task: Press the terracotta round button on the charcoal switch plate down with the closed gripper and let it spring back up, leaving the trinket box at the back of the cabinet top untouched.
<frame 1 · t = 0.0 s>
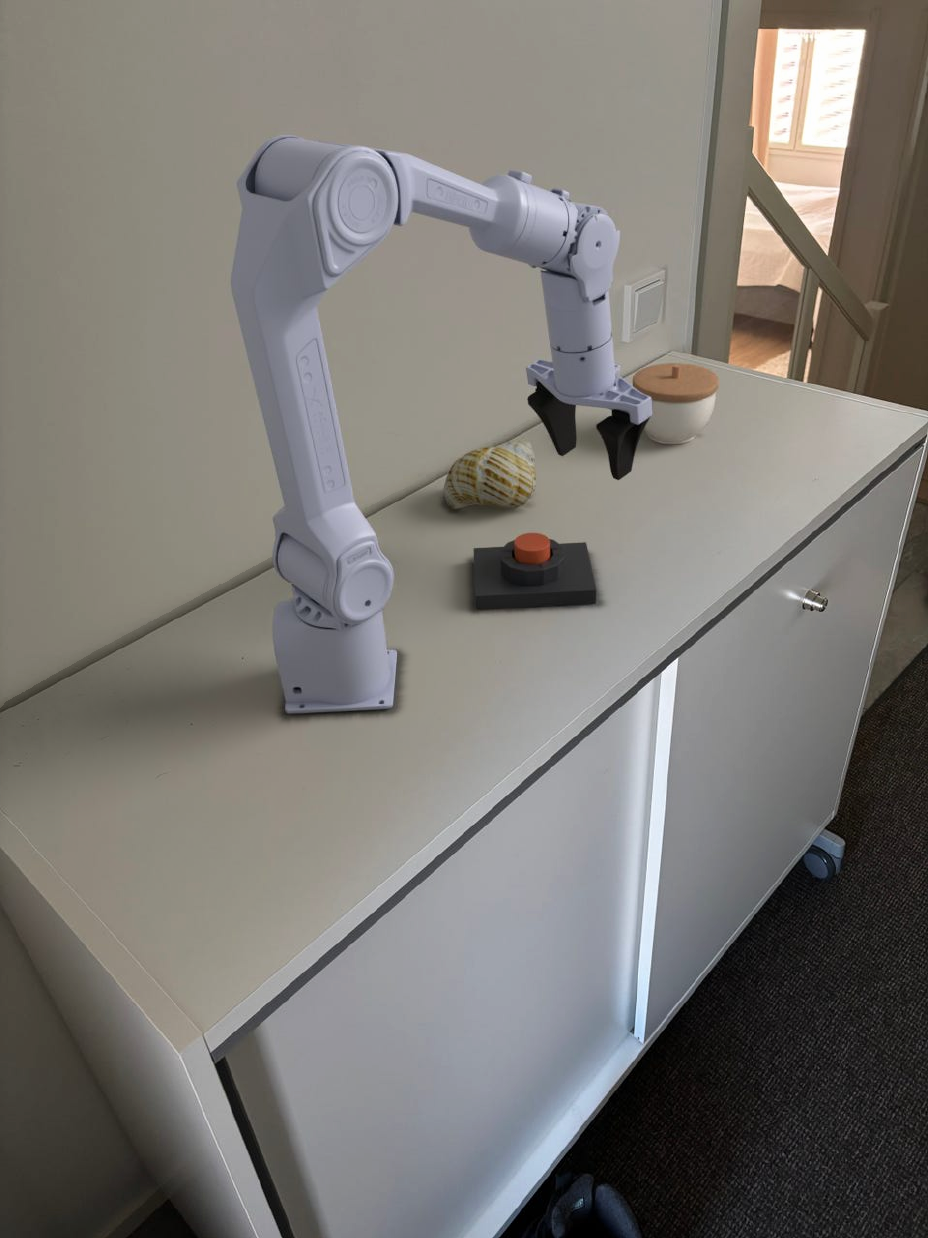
hand: (594, 462, 93), 11 cm above the cabinet top, tool pointing down, fingers open, 7 cm apart
seashell: (493, 502, 110), on the cabinet top
switch button: (532, 548, 93), point 4 cm above the cabinet top, slide at 0.1 cm
trinket box: (670, 435, 122), on the cabinet top
switch plate: (532, 581, 95), on the cabinet top
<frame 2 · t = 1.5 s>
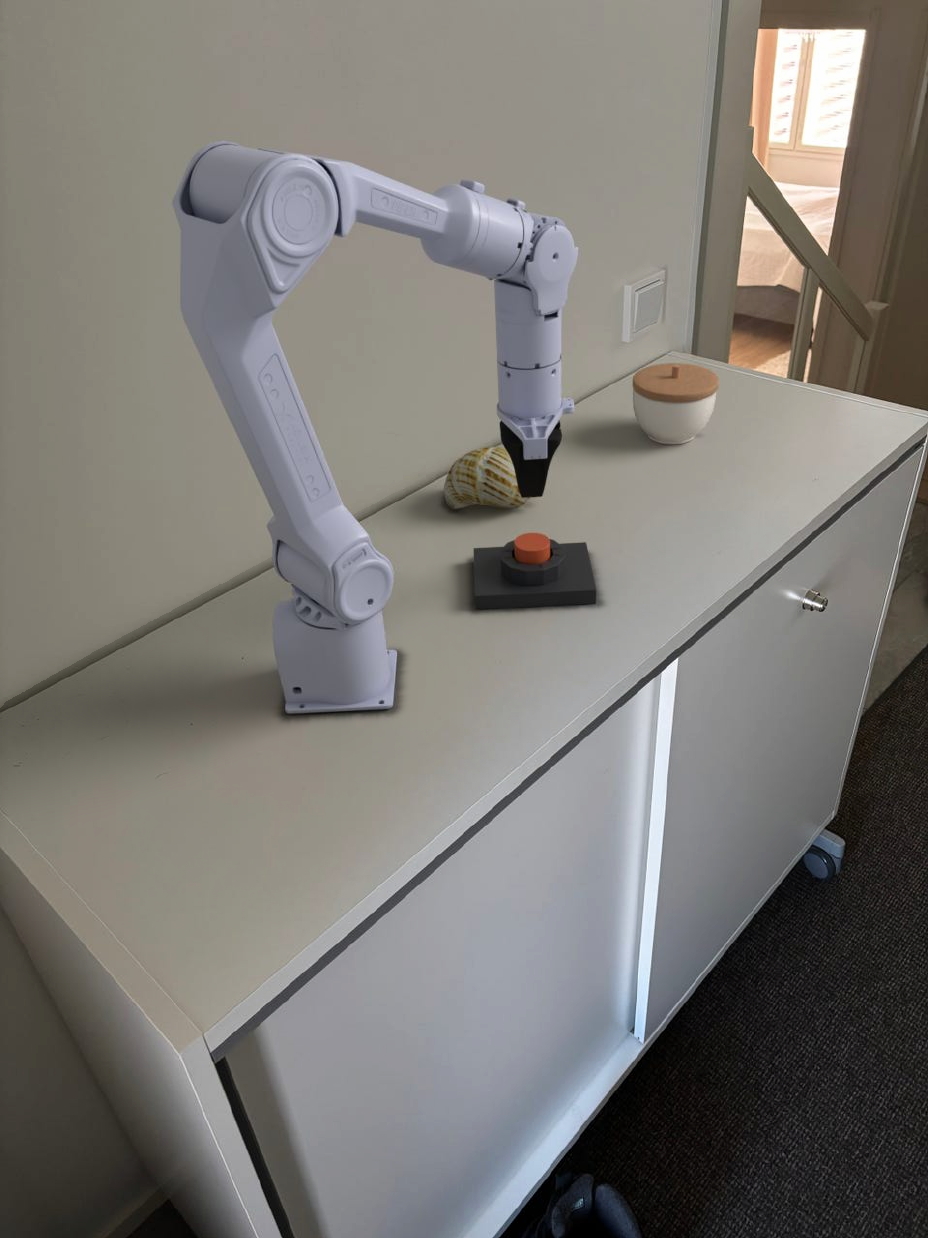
hand: (531, 493, 89), 10 cm above the cabinet top, tool pointing down, fingers closed
nothing on the cabinet top moved.
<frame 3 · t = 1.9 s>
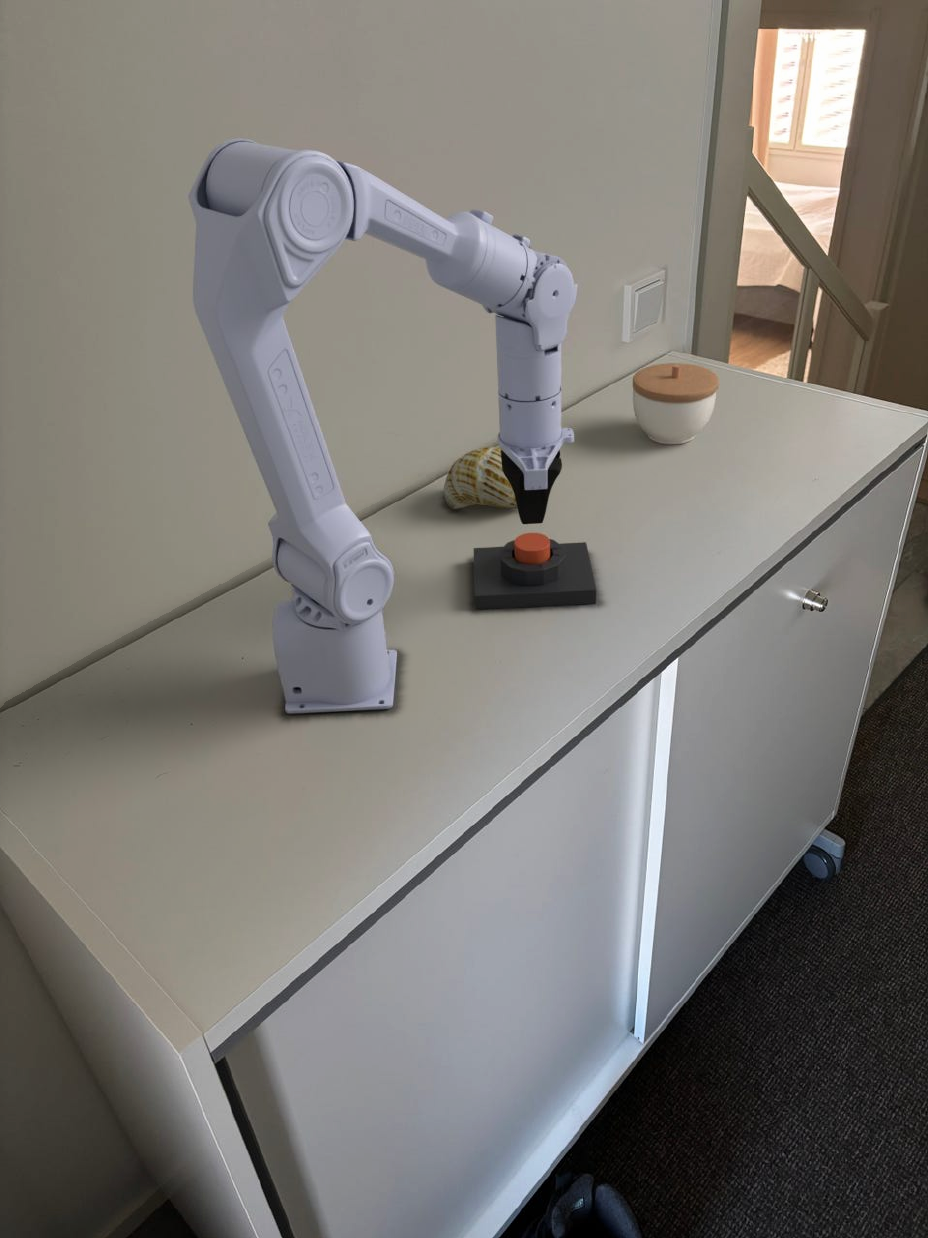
hand: (531, 520, 91), 7 cm above the cabinet top, tool pointing down, fingers closed
nothing on the cabinet top moved.
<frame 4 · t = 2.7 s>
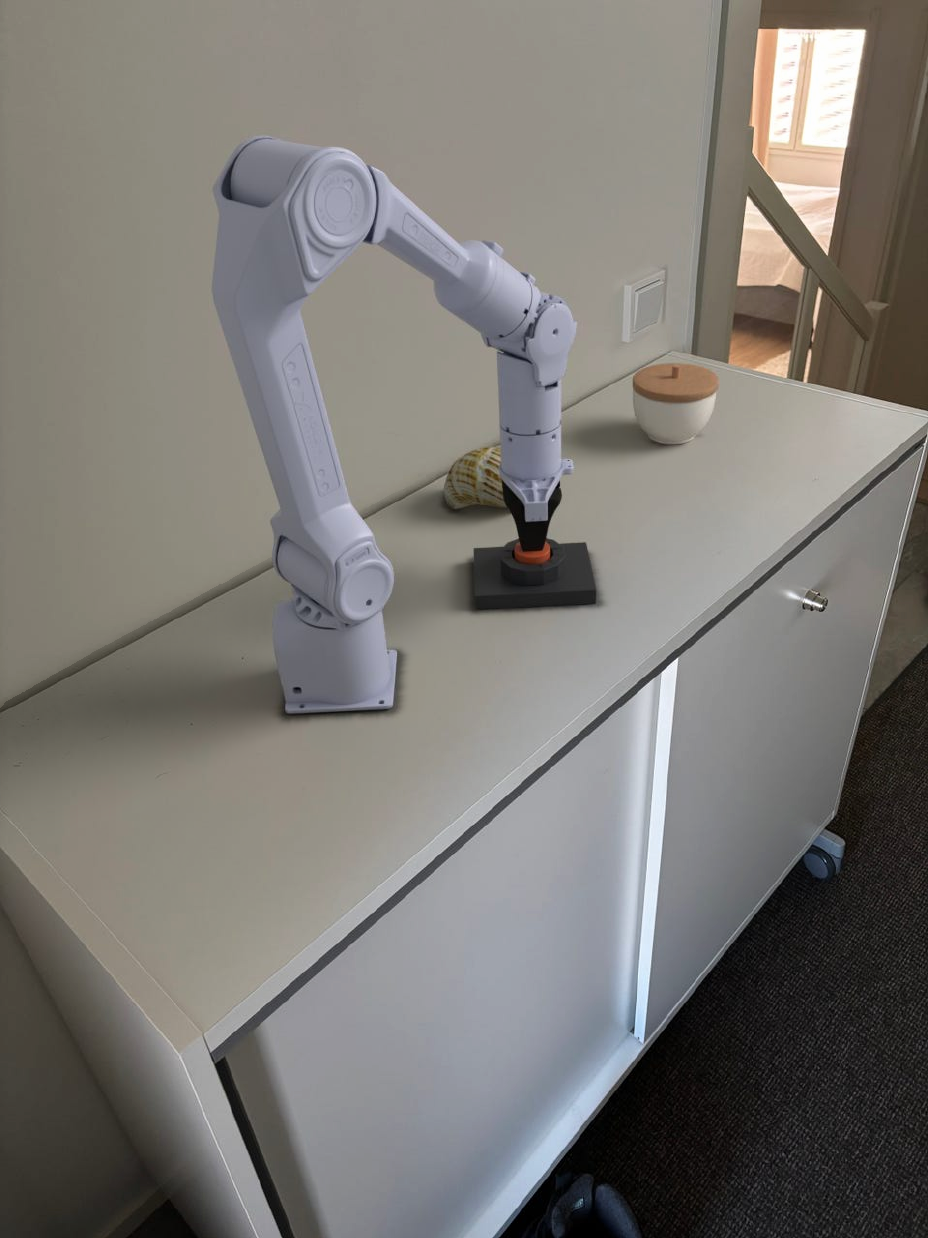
hand: (532, 547, 93), 4 cm above the cabinet top, tool pointing down, fingers closed, pressing on switch button
switch button: (532, 555, 93), point 3 cm above the cabinet top, slide at -0.6 cm, touching gripper
everything else where it was.
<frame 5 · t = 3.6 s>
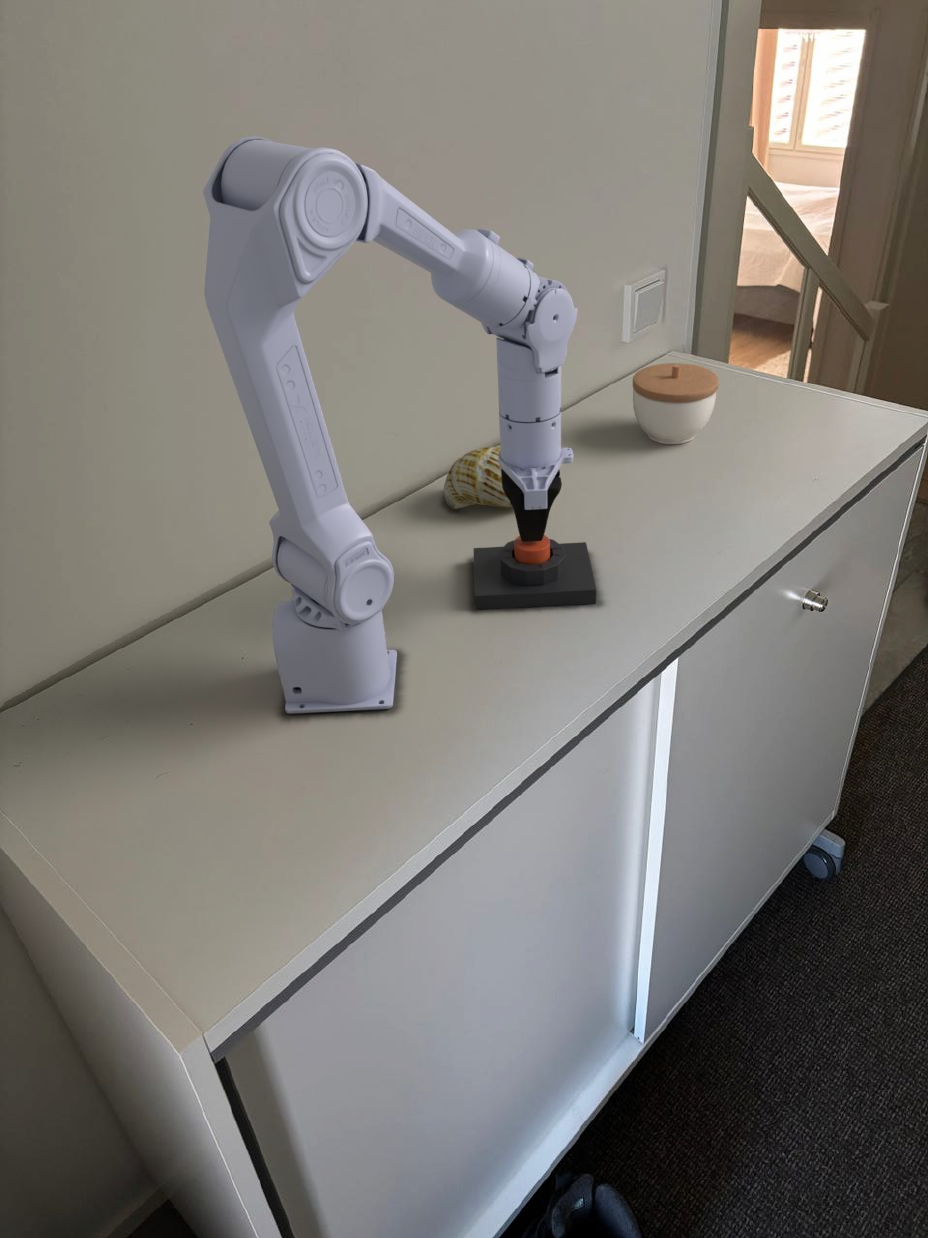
hand: (531, 537, 92), 5 cm above the cabinet top, tool pointing down, fingers closed
switch button: (532, 548, 93), point 4 cm above the cabinet top, slide at 0.1 cm
everything else where it was.
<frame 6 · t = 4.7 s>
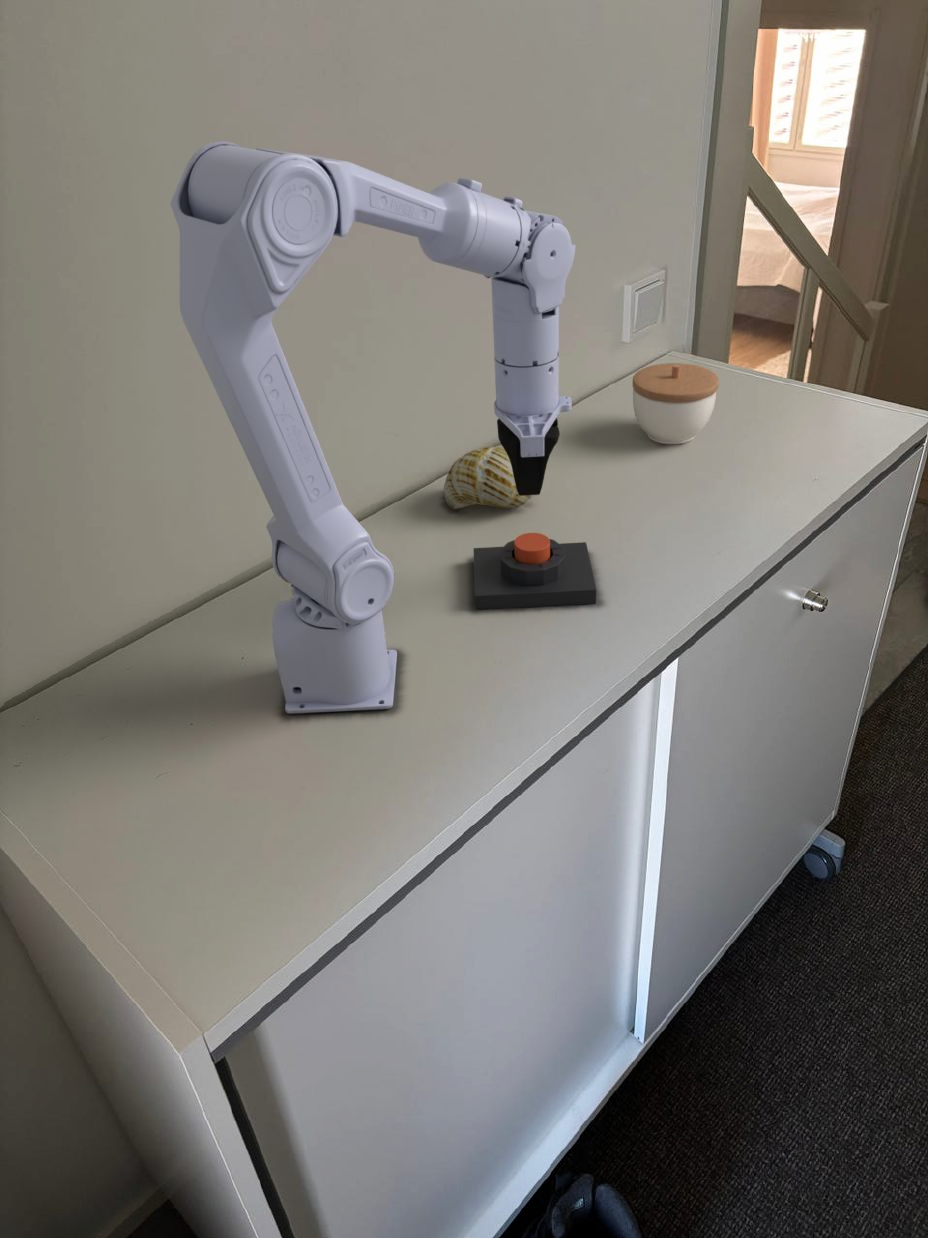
hand: (528, 491, 89), 10 cm above the cabinet top, tool pointing down, fingers closed
nothing on the cabinet top moved.
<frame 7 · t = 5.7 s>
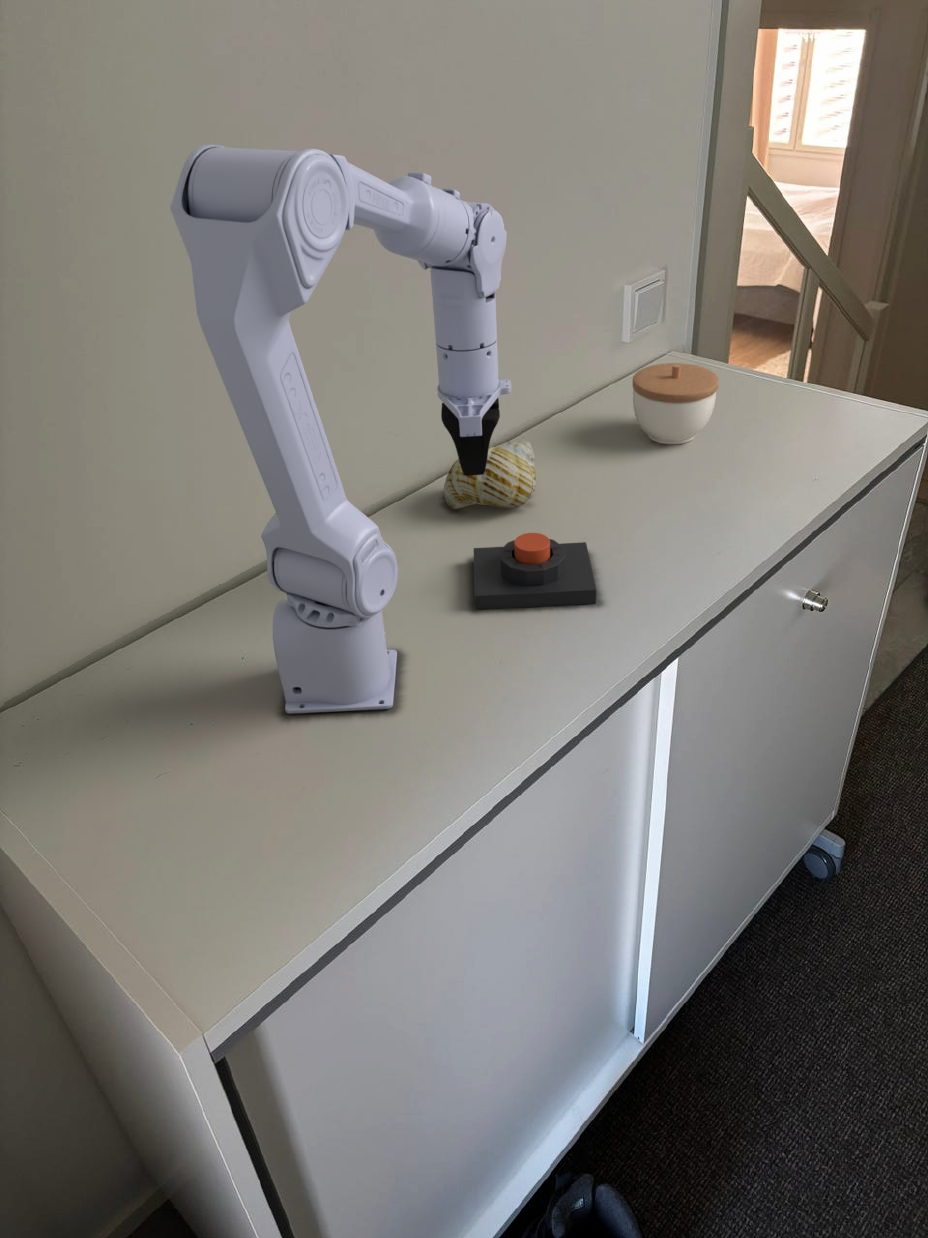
hand: (473, 472, 93), 10 cm above the cabinet top, tool pointing down, fingers closed
nothing on the cabinet top moved.
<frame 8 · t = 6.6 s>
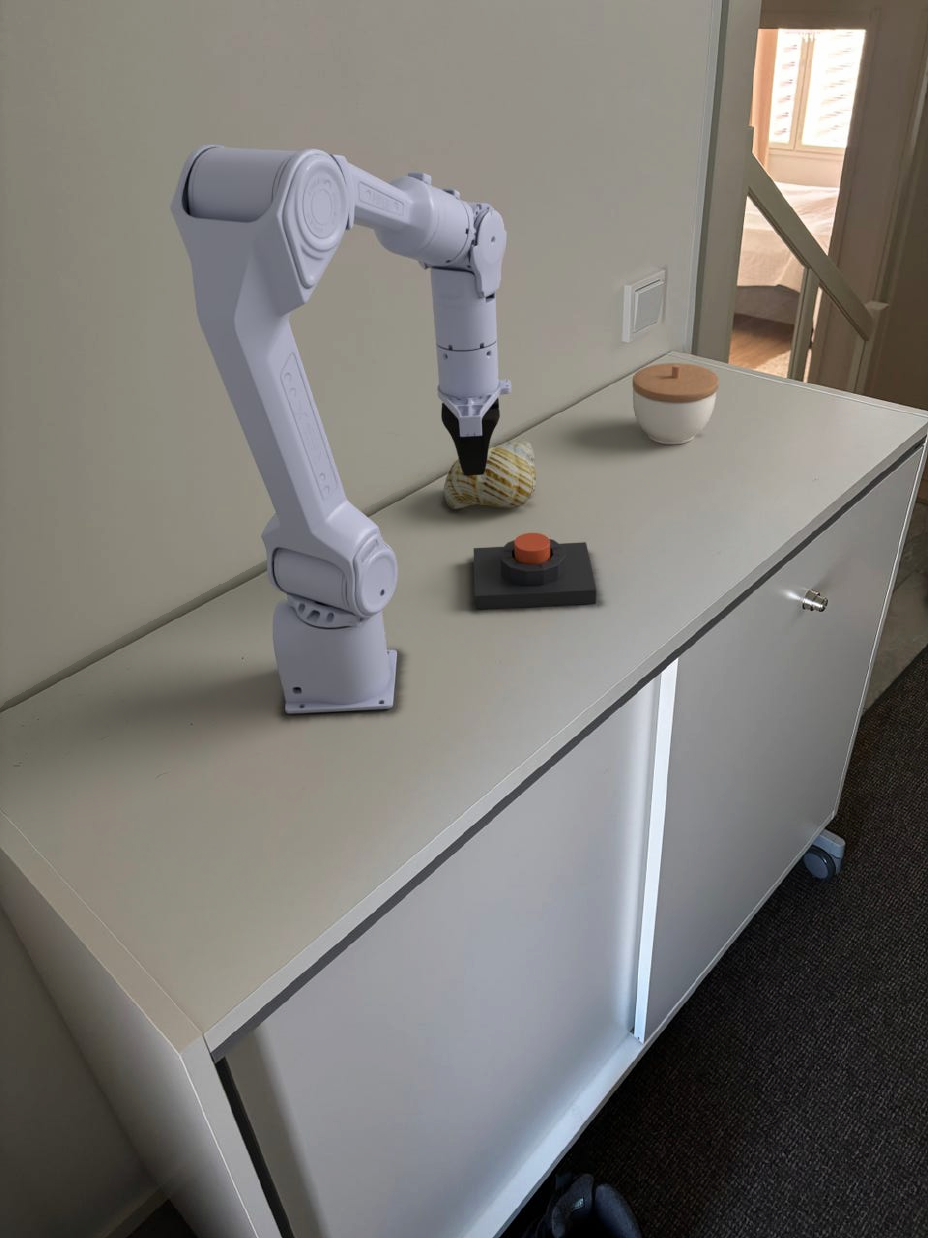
hand: (473, 472, 93), 10 cm above the cabinet top, tool pointing down, fingers closed
nothing on the cabinet top moved.
at the end: switch button pushed in 1.2 cm at the most during the clip, back to where it started at the end; switch button slide at 0.1 cm; trinket box moved 0.2 cm from its start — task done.
